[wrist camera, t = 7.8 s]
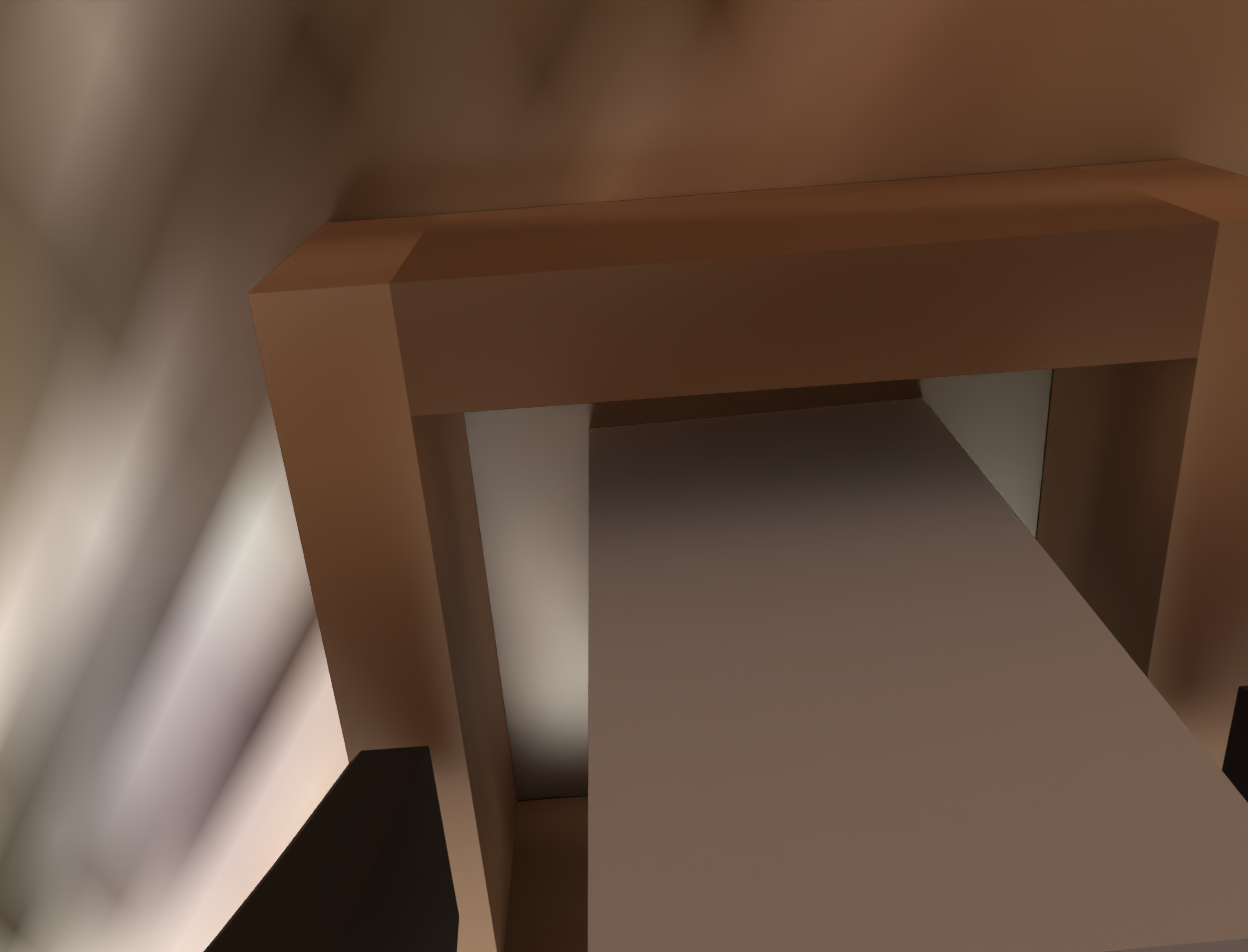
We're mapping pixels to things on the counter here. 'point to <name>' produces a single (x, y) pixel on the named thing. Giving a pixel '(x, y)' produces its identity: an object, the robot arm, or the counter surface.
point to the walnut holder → (736, 362)
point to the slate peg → (872, 711)
